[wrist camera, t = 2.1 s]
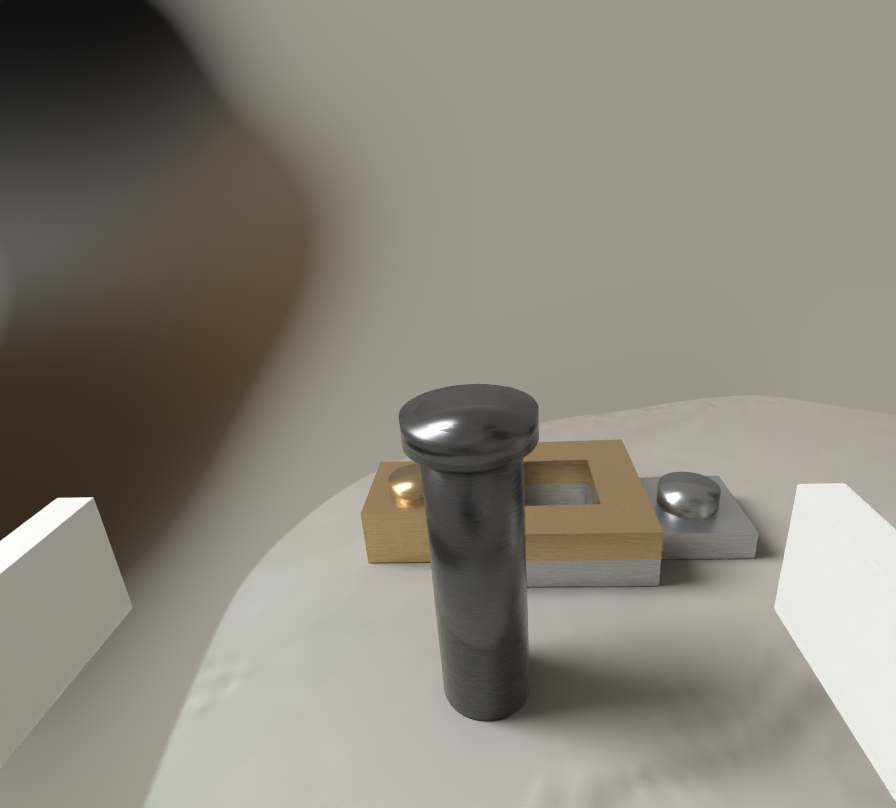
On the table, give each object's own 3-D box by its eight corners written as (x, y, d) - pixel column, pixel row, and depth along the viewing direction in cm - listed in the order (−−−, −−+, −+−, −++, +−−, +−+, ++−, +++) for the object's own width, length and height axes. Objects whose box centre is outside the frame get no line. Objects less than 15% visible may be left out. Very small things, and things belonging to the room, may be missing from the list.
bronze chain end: (619, 483, 42) (621, 432, 40) (659, 585, 32) (664, 522, 30) (391, 489, 43) (385, 440, 42) (360, 588, 33) (350, 528, 32)
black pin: (538, 639, 29) (534, 381, 23) (547, 734, 24) (543, 437, 19) (436, 639, 29) (409, 386, 24) (425, 732, 24) (387, 443, 19)
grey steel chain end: (704, 481, 41) (708, 444, 40) (772, 585, 31) (780, 539, 30) (470, 487, 43) (467, 451, 42) (462, 587, 33) (458, 544, 32)
